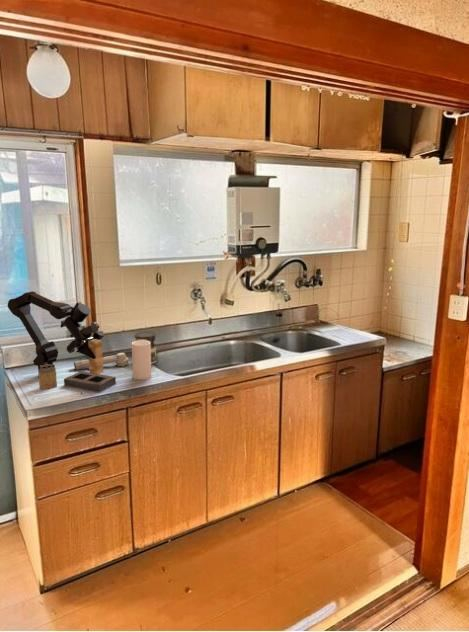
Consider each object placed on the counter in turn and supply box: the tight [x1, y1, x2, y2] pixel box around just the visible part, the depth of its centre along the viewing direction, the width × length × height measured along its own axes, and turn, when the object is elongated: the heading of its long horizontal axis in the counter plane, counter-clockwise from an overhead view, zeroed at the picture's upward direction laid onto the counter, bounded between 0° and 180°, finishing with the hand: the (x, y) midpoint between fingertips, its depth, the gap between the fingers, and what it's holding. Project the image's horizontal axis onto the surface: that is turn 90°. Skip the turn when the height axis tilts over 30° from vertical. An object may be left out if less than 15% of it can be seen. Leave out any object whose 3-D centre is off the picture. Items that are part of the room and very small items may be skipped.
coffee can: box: [133, 331, 157, 365], centre depth 230 cm, size 10×10×14 cm
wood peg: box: [88, 339, 104, 375], centre depth 196 cm, size 4×4×14 cm
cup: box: [131, 340, 152, 381], centre depth 209 cm, size 8×8×16 cm
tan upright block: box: [37, 364, 58, 390], centre depth 195 cm, size 7×4×10 cm, turn 120°
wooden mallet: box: [73, 352, 130, 371], centre depth 222 cm, size 5×7×25 cm
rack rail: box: [63, 370, 117, 393], centre depth 200 cm, size 18×11×3 cm, turn 68°
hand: (98, 357), depth 195 cm, fingers closed on wood peg, 4 cm apart
